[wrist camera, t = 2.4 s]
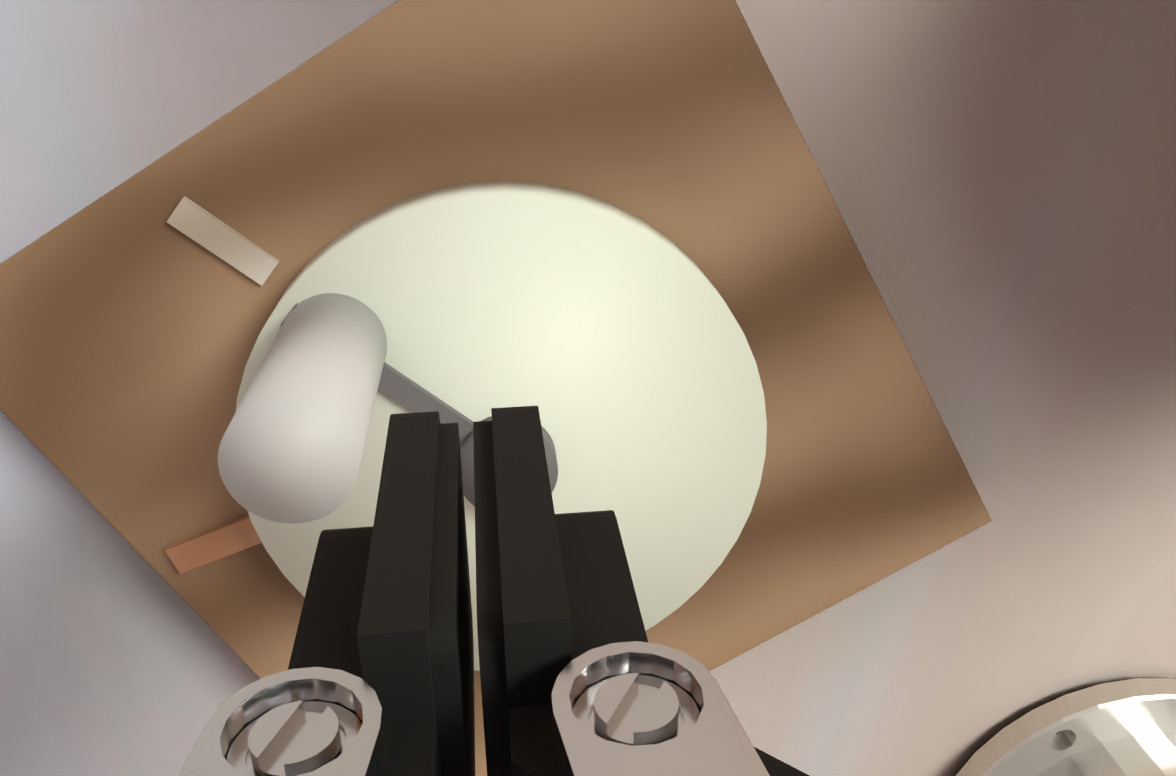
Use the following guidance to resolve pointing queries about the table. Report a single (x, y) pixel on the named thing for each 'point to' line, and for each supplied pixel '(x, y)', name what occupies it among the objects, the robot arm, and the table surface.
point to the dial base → (470, 155)
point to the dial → (507, 377)
